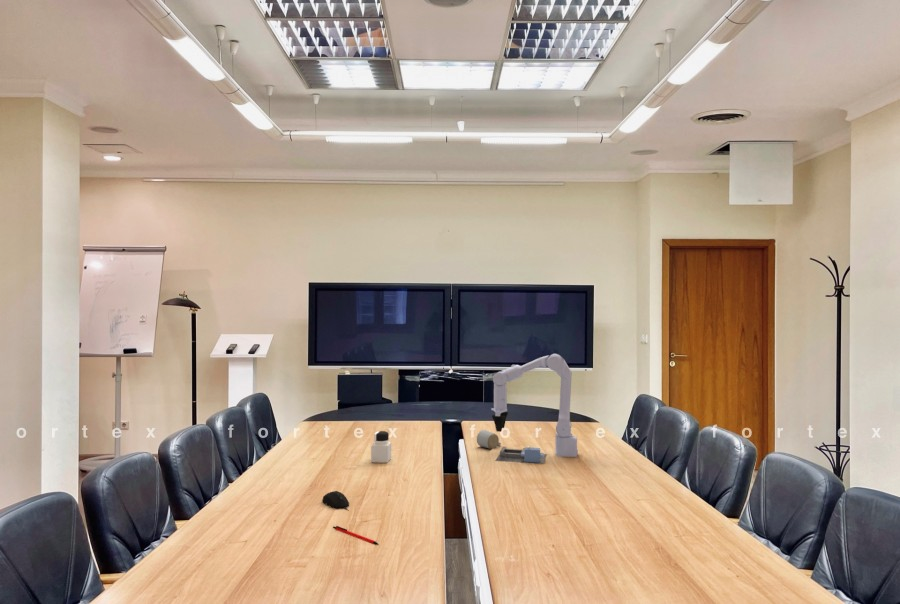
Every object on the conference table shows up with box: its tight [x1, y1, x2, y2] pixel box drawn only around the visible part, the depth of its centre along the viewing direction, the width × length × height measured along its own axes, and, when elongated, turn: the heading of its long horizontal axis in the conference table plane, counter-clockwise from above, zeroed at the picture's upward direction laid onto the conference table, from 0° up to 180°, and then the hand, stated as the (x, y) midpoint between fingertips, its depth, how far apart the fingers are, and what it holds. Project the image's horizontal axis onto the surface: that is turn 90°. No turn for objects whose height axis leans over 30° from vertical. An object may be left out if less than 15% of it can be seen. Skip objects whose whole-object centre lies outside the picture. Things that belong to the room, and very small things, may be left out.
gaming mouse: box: [321, 490, 350, 512], centre depth 184 cm, size 6×15×4 cm, turn 39°
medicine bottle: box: [370, 430, 392, 464], centre depth 238 cm, size 7×7×12 cm
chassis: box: [495, 446, 548, 465], centre depth 240 cm, size 20×16×3 cm
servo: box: [521, 445, 545, 463], centre depth 234 cm, size 9×4×6 cm, turn 76°
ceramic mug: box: [476, 429, 501, 450], centre depth 261 cm, size 11×8×8 cm
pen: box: [332, 525, 380, 545], centre depth 159 cm, size 1×19×1 cm, turn 50°
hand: (500, 429), depth 252 cm, fingers open, 7 cm apart
